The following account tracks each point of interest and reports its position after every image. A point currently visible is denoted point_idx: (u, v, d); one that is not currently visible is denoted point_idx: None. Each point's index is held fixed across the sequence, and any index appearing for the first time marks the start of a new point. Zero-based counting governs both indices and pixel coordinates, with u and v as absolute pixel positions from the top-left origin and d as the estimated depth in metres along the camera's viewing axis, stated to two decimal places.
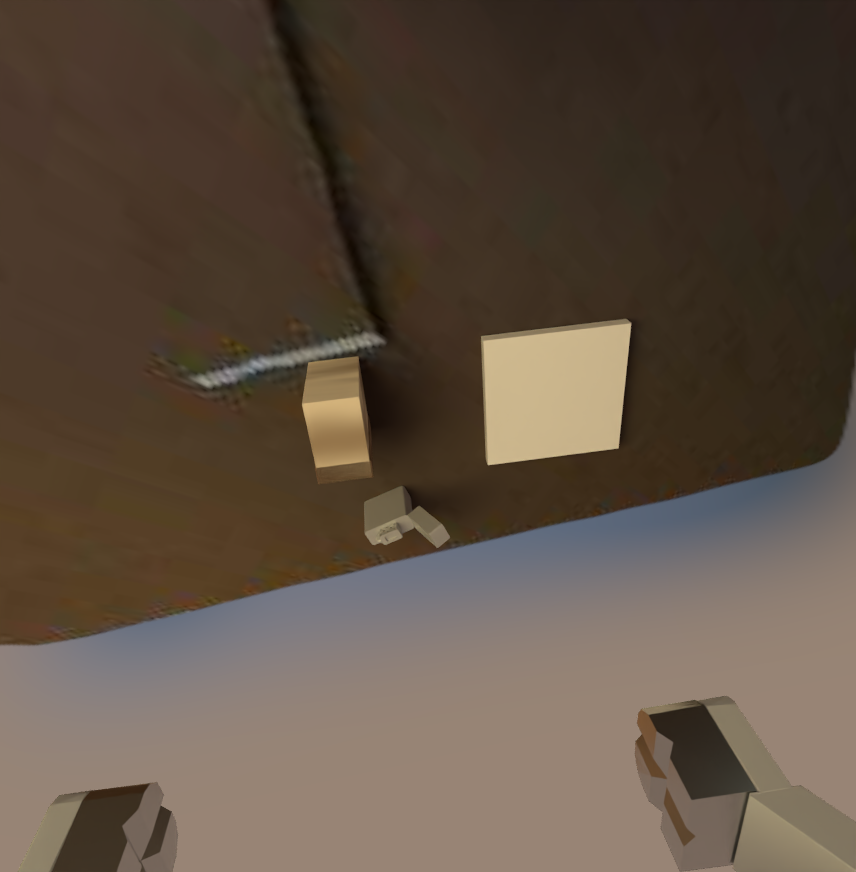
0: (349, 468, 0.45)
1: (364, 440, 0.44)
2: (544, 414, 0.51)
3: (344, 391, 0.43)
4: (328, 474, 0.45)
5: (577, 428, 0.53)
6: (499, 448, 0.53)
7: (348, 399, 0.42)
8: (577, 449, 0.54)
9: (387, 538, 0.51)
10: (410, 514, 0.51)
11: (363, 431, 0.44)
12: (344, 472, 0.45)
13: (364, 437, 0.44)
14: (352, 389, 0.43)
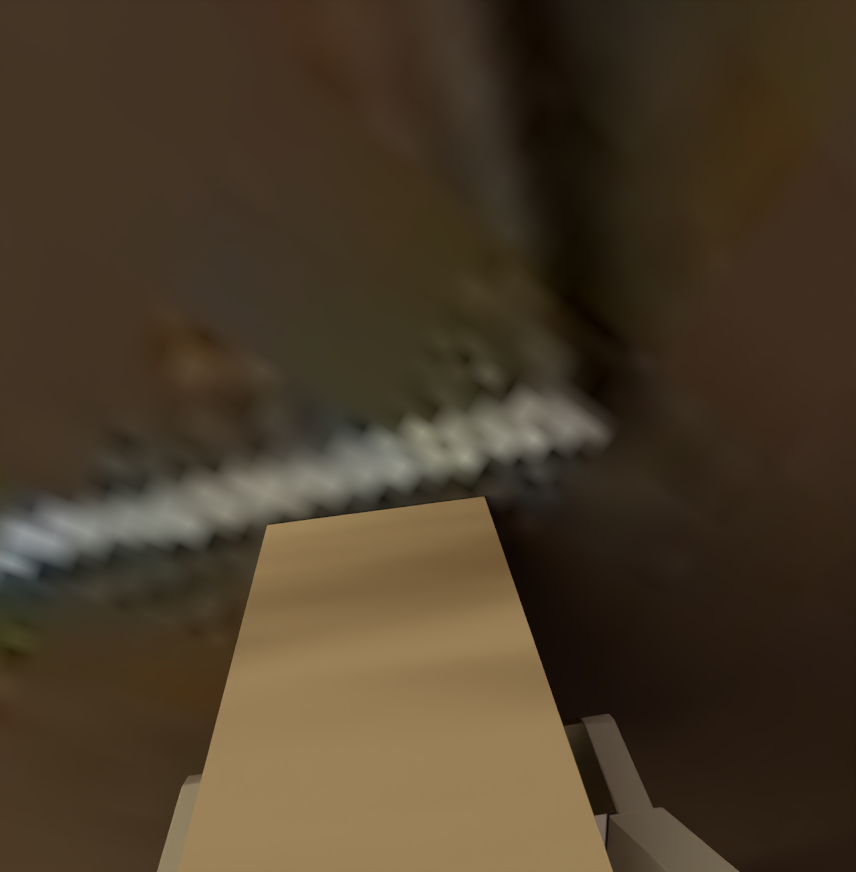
0: None
1: None
2: None
3: (488, 835, 0.06)
4: None
5: None
6: None
7: None
8: None
9: None
10: None
11: None
12: None
13: None
14: (543, 809, 0.06)
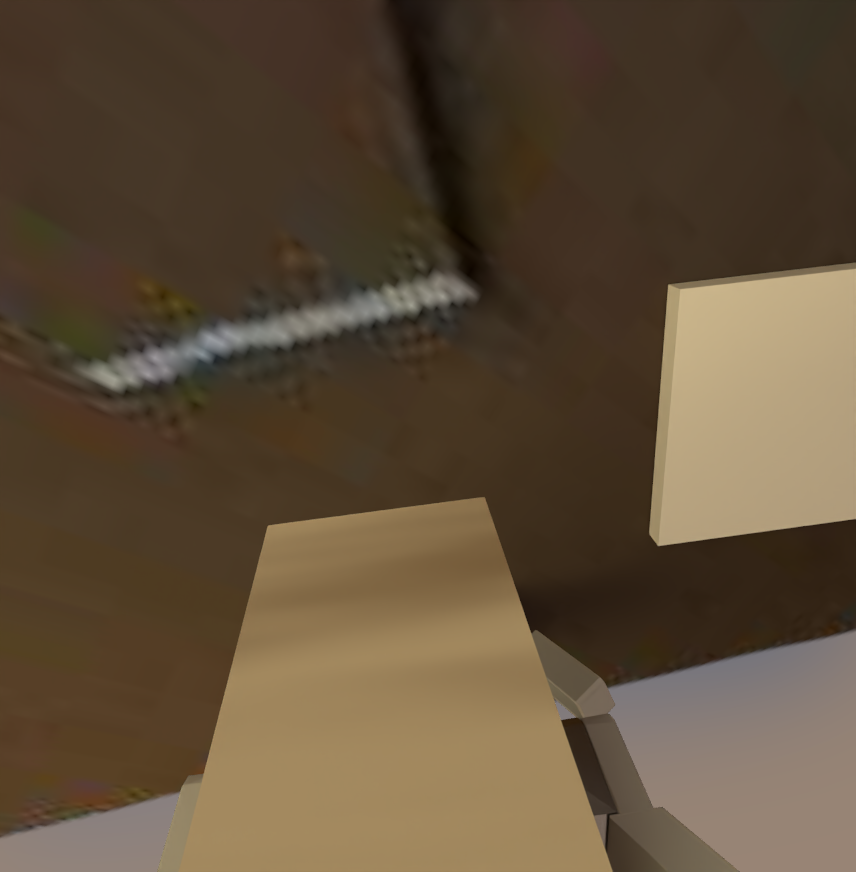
0: None
1: None
2: (777, 446, 0.26)
3: (489, 835, 0.06)
4: None
5: (834, 474, 0.27)
6: (684, 513, 0.27)
7: None
8: (827, 515, 0.28)
9: None
10: None
11: None
12: None
13: None
14: (543, 809, 0.06)
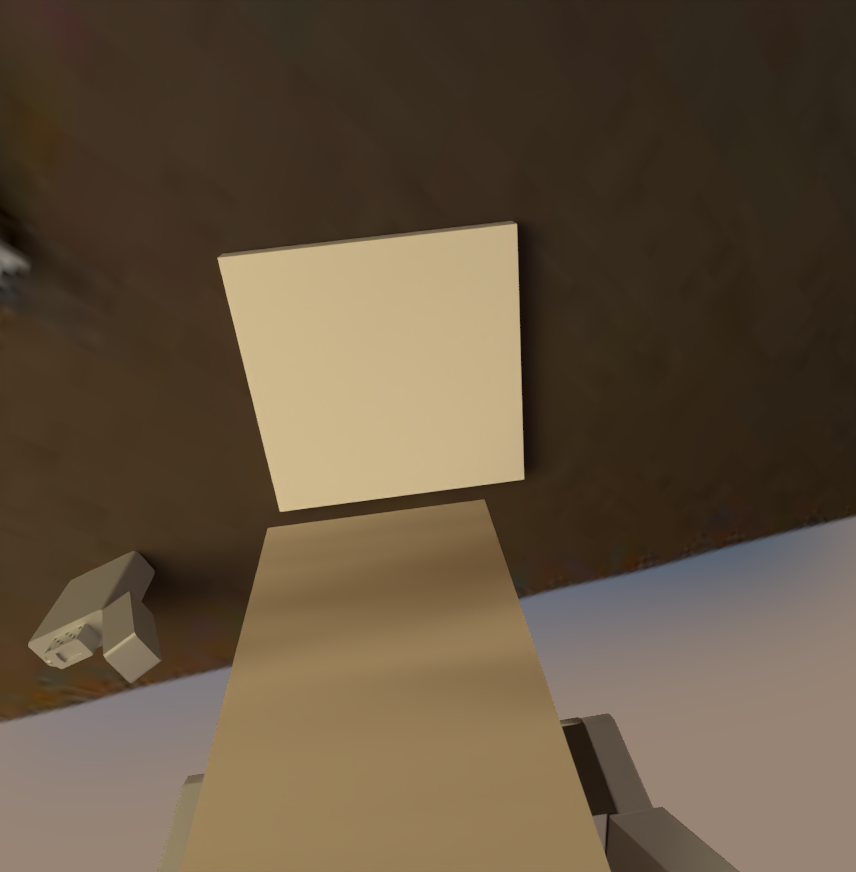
0: None
1: None
2: (371, 413, 0.27)
3: (488, 840, 0.06)
4: None
5: (440, 441, 0.28)
6: (296, 480, 0.28)
7: None
8: (446, 481, 0.29)
9: (64, 656, 0.26)
10: (107, 608, 0.26)
11: None
12: None
13: None
14: (543, 813, 0.06)
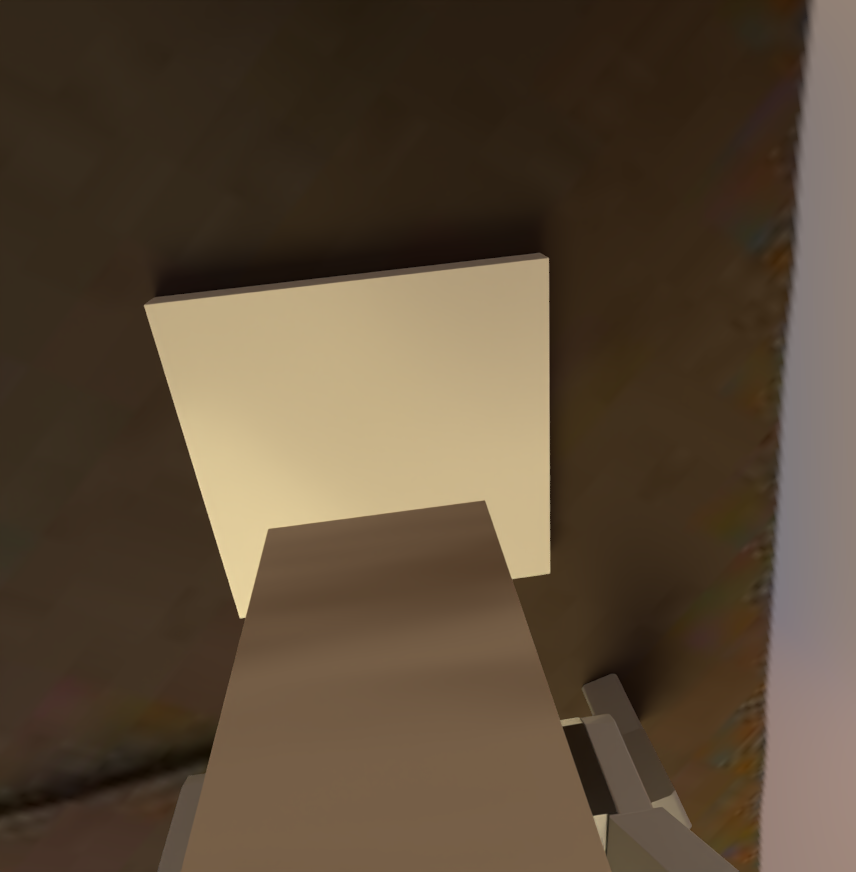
0: None
1: None
2: (422, 476, 0.21)
3: (490, 841, 0.06)
4: None
5: (469, 390, 0.20)
6: (508, 556, 0.23)
7: None
8: (536, 378, 0.20)
9: None
10: None
11: None
12: None
13: None
14: (544, 815, 0.06)
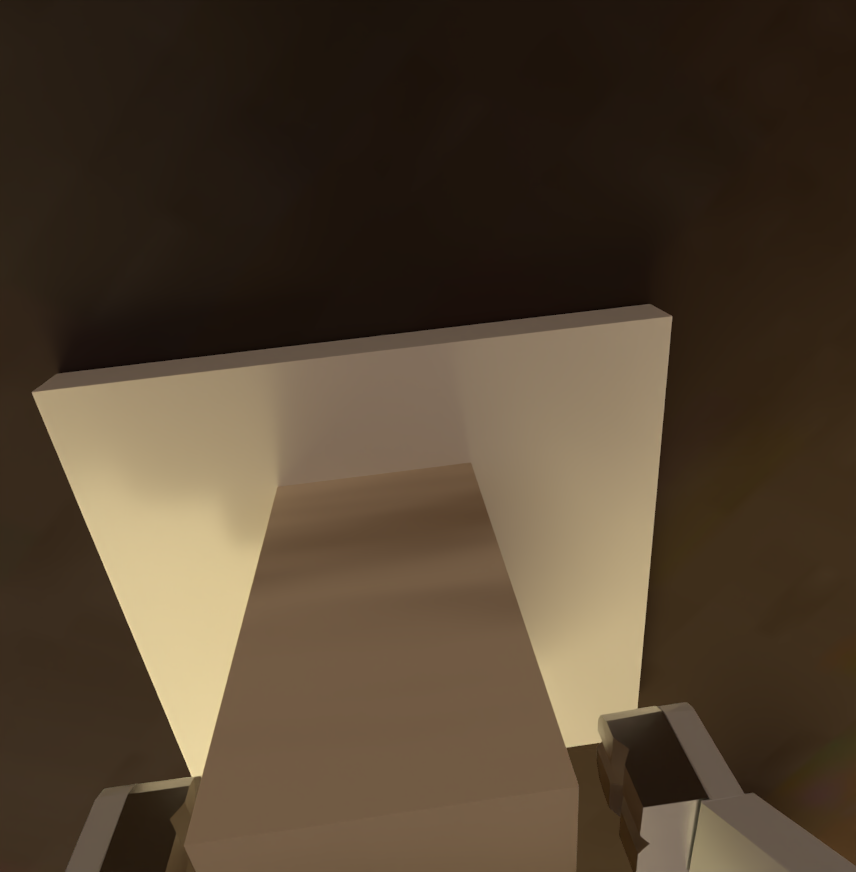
0: None
1: None
2: None
3: (463, 711, 0.07)
4: None
5: (536, 507, 0.13)
6: (579, 717, 0.16)
7: (506, 804, 0.06)
8: (637, 489, 0.13)
9: None
10: None
11: None
12: None
13: None
14: (508, 692, 0.07)
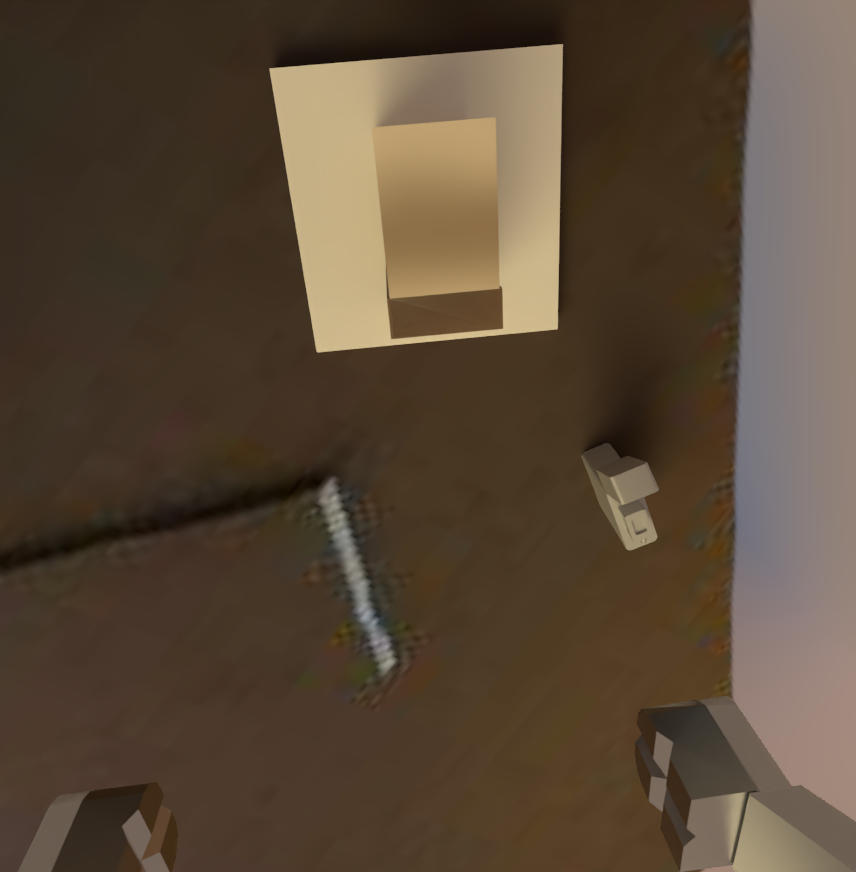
0: (457, 304, 0.22)
1: (495, 235, 0.21)
2: None
3: None
4: (412, 317, 0.22)
5: (500, 155, 0.26)
6: (525, 309, 0.29)
7: (472, 122, 0.19)
8: (550, 148, 0.26)
9: (641, 529, 0.30)
10: (605, 489, 0.30)
11: (495, 212, 0.20)
12: (446, 313, 0.22)
13: (496, 227, 0.21)
14: None
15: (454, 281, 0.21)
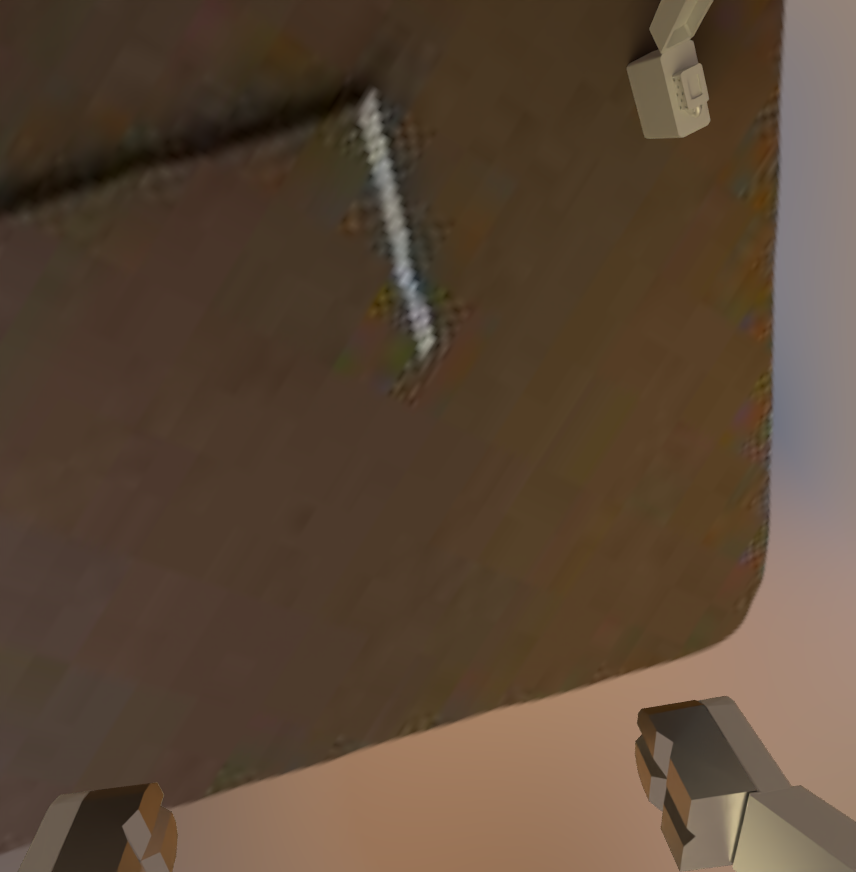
0: None
1: None
2: None
3: None
4: None
5: None
6: None
7: None
8: None
9: (696, 93, 0.30)
10: (659, 46, 0.29)
11: None
12: None
13: None
14: None
15: None
